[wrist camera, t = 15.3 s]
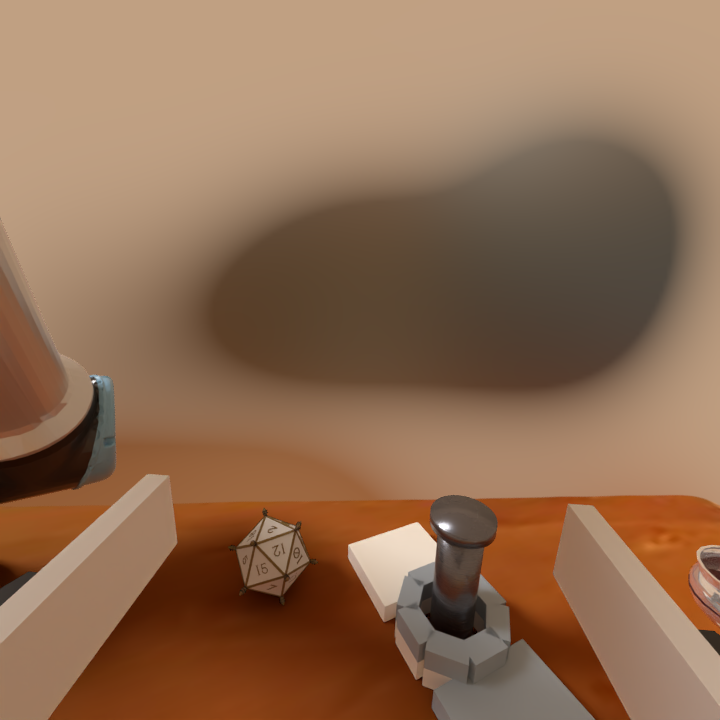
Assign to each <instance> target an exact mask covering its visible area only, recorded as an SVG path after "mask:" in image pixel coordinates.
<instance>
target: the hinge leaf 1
mask: <svg viewBox="0 0 720 720" xmlns="http://www.w3.org/2000/svg"><path fill="white" fill-rule="evenodd" d="M436 547H437V543H436V542H435V541H434V540H433V539H432V538H431V537H430V535H429V534H428V533H427V532H426V531H425V530H424V529H423V528H422V527H421V525H420V524H419V523H418V522H416V523H413V524H410V525H407V526H404V527H401V528H398V529H395V530H392V531H389V532H386V533H383V534H380V535H377V536H374V537H371V538H368V539H365V540H362V541H359V542H356V543H353V544H350V545H348V559H349V561H350V563H351V564H352V566H353V568H354V570H355V572H356V573H357V575H358V577H359V579H360V581H361V582H362V584H363V586H364V588H365V590H366V591H367V593H368V595H369V597H370V598H371V600H372V602H373V604H374V606H375V607H376V609H377V611H378V613H379V615H380V616H381V618H382V620H383V622H386V621H389V620H391V619H393V618H395V617H396V607H397V601H398V598H399V594H400V591H401V587H402V584H403V580H404V577H405V576H408V572H409V571H412V570H414V569H417V568H420V567H422V566H425V565H427V564H430V563H432V562H435V557H436ZM431 599H432V597H430V598H428V599H426V600H424V601H422V604H421V608H420V609H421V610H422V612H423V613H424V615H425V614H428V613H430V610H431ZM473 627H474V628H475V629H476V630H477V632H478V633H479V632H480V631H482V630H484V620H483V619H482V618H481V617H480V616H479V614H478V613H477V612H476V611H475V617H474V625H473ZM395 637H396V642H395V643H396V645H397V647H398V649H399V650H400V652H401V654H402V656H403V658H404V659H405V661H406V663H407V665H408V667H409V668H410V670H411V672H412V674H413V675H414V677H415V679H416V680H417V679H419V678H421V677H423V679H422V686H425V687H427V688H430V689H432V690H434V689H436V688H438V687H440V686H441V685H443V684H445V683H447V682H448V681H450V680H452V679H451V678H449V677H446V676H444V675H441V674H438V673H436V672H433V671H430V670H428V669H425V668H424V660H422V661H420V662H418V663H417V661H416V659H415V657H414V656H413V654H412V652H411V651H410V649H409V647H408V646H407V644H406V642H405V640H404V639H403V637H402V635H401V634H400V632H399V630H398V628H397V621H396V622H395Z"/></svg>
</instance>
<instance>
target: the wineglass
mask: <svg viewBox="0 0 720 720" xmlns="http://www.w3.org/2000/svg"><path fill="white" fill-rule="evenodd" d="M697 560H698V561H697V562H696V563H695V564H694V565H693V567H692V568H691V569H690V573H689V587H690V591H691V594H692V596H693V598H694V600H695V602H696V604H697V605H698V606H699V607H700V608H701V610H702V611H703V612H704V613H705V615H706V616H707V617H708V618H709V619H710V620H711V621H712V622H713V623H714V624H715V625H716V626H717V627H719V628H720V546H716V545H708V546H703V547H701V548H700V549H699V550H698V551H697Z"/></svg>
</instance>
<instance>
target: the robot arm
mask: <svg viewBox="0 0 720 720" xmlns="http://www.w3.org/2000/svg"><path fill="white" fill-rule="evenodd" d="M113 387H114V386H113V381H112V379H111V378H110V377H108V376H98V375H90V376H89V375H88V373H87V372H86V370H85V369H84V368H83V367H82V366H81V365H80V364H79V363H77V362H76V361H74V360H73V359H71V358H69V357H67V356H64V355H62V354H59V353H58V351H57V348H56V346H55V344H54V342H53V339H52V337H51V335H50V332H49V330H48V328H47V325H46V323H45V321H44V318H43V316H42V314H41V311H40V309H39V307H38V304H37V302H36V300H35V297H34V295H33V293H32V291H31V288H30V286H29V284H28V281H27V279H26V277H25V274H24V272H23V270H22V267H21V265H20V263H19V260H18V258H17V256H16V254H15V251H14V249H13V247H12V244H11V242H10V240H9V237H8V235H7V233H6V230H5V228H4V226H3V223H2V221H1V219H0V504H3V503H8V502H13V501H17V500H22V499H25V498H31V497H35V496H40V495H44V494H49V493H53V492H58V491H62V490H67V489H73V490H74V489H79V488H81V487H82V486H84V485H87V484H91V483H95V482H99V481H102V480H105V479H107V478H108V477H109V476H111V475H112V473H113V472H114V470H115V467H116V442H115V407H114V388H113ZM176 544H177V535H176V527H175V519H174V511H173V503H172V495H171V486H170V478H169V476H167V475H153V474H147V475H146V476H145V477H144V478H143V479H141V480H140V481H139V482H138V483H137V484H136V485H135V486H134V487H133V488H131V489H130V490H129V491H128V492H127V493H126V494H125V495H124V496H122V498H120V499H119V500H118V501H117V502H116V503H115V504H114V505H112V506H111V507H110V508H109V509H108V510H107V511H106V512H105V513H104V514H102V515H101V516H100V517H99V518H98V519H97V520H96V521H95V522H94V523H92V524H91V525H90V526H89V527H88V528H87V529H86V530H85V531H84V532H82V533H81V534H80V535H79V536H78V537H77V538H76V539H75V540H74V541H72V542H71V543H70V544H69V545H68V546H67V547H66V548H65V549H63V550H62V551H61V552H60V553H59V554H58V555H57V556H56V557H55V558H53V559H52V560H51V561H50V562H49V563H48V564H47V565H46V566H45V567H43V568H42V569H41V570H40V571H39V572H38V573H37V572H27V573H26V574H24V575H22V576H20V577H19V578H17V579H15V580H14V581H12V582H10V583H9V584H7V585H5V586H4V587H2V588H0V720H48V718H49V717H50V716H51V714H52V713H53V712H54V710H55V709H56V707H57V706H58V705H59V703H60V702H61V701H62V699H63V698H64V697H65V695H66V694H67V692H68V691H69V690H70V688H71V687H72V686H73V684H74V683H75V682H76V680H77V679H78V678H79V676H80V675H81V673H82V672H83V671H84V669H85V668H86V667H87V665H88V664H89V663H90V661H91V660H92V658H93V657H94V656H95V654H96V653H97V652H98V650H99V649H100V648H101V646H102V645H103V644H104V642H105V641H106V639H107V638H108V637H109V635H110V634H111V633H112V631H113V630H114V629H115V627H116V626H117V624H118V623H119V622H120V620H121V619H122V618H123V616H124V615H125V614H126V612H127V611H128V610H129V608H130V607H131V605H132V604H133V603H134V601H135V600H136V599H137V597H138V596H139V595H140V593H141V592H142V591H143V589H144V588H145V586H146V585H147V584H148V582H149V581H150V580H151V578H152V577H153V576H154V574H155V573H156V571H157V570H158V569H159V567H160V566H161V565H162V563H163V562H164V561H165V559H166V558H167V557H168V555H169V554H170V552H171V551H172V550H173V548H174V547H175V546H176ZM553 575H554V577H555V578H556V580H557V582H558V584H559V586H560V588H561V590H562V592H563V593H564V595H565V597H566V599H567V601H568V603H569V605H570V607H571V608H572V610H573V612H574V614H575V616H576V618H577V620H578V622H579V623H580V625H581V627H582V629H583V631H584V633H585V635H586V637H587V638H588V640H589V642H590V644H591V646H592V648H593V650H594V652H595V653H596V655H597V657H598V659H599V661H600V663H601V665H602V667H603V669H604V670H605V672H606V674H607V676H608V678H609V680H610V682H611V684H612V685H613V687H614V689H615V691H616V693H617V695H618V697H619V699H620V700H621V702H622V704H623V706H624V708H625V710H626V712H627V714H628V715H629V717H630V719H631V720H720V635H719V634H717V633H716V632H715V631H708V630H698V629H697V628H696V627H695V626H694V625H693V623H692V622H691V621H690V620H689V619H688V618H687V616H686V615H685V614H684V613H683V612H682V610H681V609H680V608H679V607H678V606H677V605H676V603H675V602H674V601H673V600H672V599H671V597H670V596H669V595H668V594H667V593H666V592H665V590H664V589H663V588H662V587H661V586H660V584H659V583H658V582H657V581H656V580H655V578H654V577H653V576H652V575H651V574H650V573H649V571H648V570H647V569H646V568H645V567H644V565H643V564H642V563H641V562H640V561H639V560H638V558H637V557H636V556H635V555H634V554H633V552H632V551H631V550H630V549H629V548H628V546H627V545H626V544H625V543H624V542H623V541H622V539H621V538H620V537H619V536H618V535H617V533H616V532H615V531H614V530H613V529H612V528H611V526H610V525H609V524H608V523H607V522H606V520H605V519H604V518H603V517H602V516H601V514H600V513H599V512H598V511H597V510H596V509H595V507H594V506H590V505H576V504H568V507H567V512H566V516H565V521H564V525H563V530H562V535H561V539H560V544H559V548H558V553H557V557H556V562H555V567H554V571H553Z"/></svg>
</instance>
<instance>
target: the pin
mask: <svg viewBox="0 0 720 720" xmlns="http://www.w3.org/2000/svg"><path fill="white" fill-rule="evenodd" d="M430 525H431V527H432V529H433V531H434V532H435V533H436V534H437V535H438V536H437V547H436V557H435V568H434V578H433V589H432V599H431V610H430V620H429V622H430V624H431V625H432V627H433V628H434V629H435V630H436V631H439V632H442V633H445V634H448V635H451V636H454V637H457V638H460V639H462V640H465V639H467V638H469V637H471V636H472V632H473V625H474V617H475V610H476V602H477V595H478V588H479V580H480V573H481V565H482V558H483V551H484V547H486V546H488V545H490V544H491V543H492V542H493V541H494V539H495V537H496V531H497V518H496V516H495V514H494V513H493V512H492V511H491V509H489V508H488V507H487V506H486V505H484V504H483V503H481V502H479V501H477V500H475V499H472V498H469V497H465V496H459V495H451V496H444V497H441V498H439V499H437V500H436V501H435V502H434V503H433V504H432V506H431V512H430Z"/></svg>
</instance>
